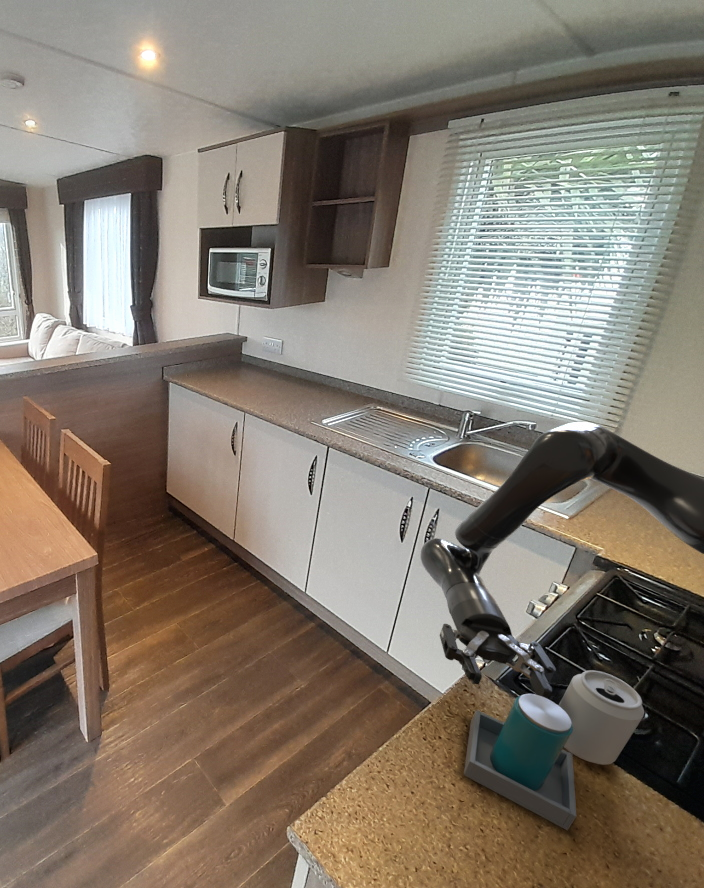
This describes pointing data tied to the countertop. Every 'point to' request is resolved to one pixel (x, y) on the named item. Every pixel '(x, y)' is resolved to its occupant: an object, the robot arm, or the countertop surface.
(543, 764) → the slim can
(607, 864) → the countertop surface
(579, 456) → the robot arm
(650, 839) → the countertop surface
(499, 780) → the gray rectangular tray
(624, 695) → the can
